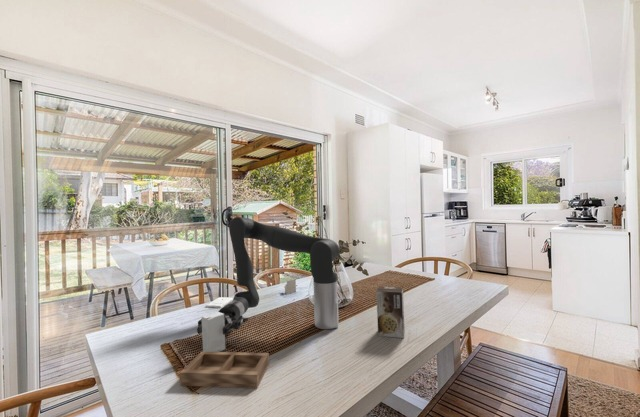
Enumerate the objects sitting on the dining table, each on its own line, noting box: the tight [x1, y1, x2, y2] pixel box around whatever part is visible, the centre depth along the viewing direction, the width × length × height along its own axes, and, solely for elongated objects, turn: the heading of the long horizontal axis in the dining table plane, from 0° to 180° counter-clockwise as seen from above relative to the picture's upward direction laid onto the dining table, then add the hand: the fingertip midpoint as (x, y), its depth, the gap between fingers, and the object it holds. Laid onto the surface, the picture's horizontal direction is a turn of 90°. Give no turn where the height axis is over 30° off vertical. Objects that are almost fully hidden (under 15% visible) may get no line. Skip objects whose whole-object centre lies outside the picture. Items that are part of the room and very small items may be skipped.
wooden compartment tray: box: [179, 351, 270, 389], centre depth 85 cm, size 21×12×4 cm, turn 84°
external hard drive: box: [204, 296, 234, 309], centre depth 149 cm, size 2×8×12 cm
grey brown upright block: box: [375, 285, 406, 339], centre depth 108 cm, size 9×6×16 cm
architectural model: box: [283, 278, 298, 295], centre depth 165 cm, size 3×7×7 cm, turn 127°
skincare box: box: [201, 311, 227, 352], centre depth 99 cm, size 6×4×12 cm
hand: (211, 331), depth 97 cm, fingers open, 8 cm apart
